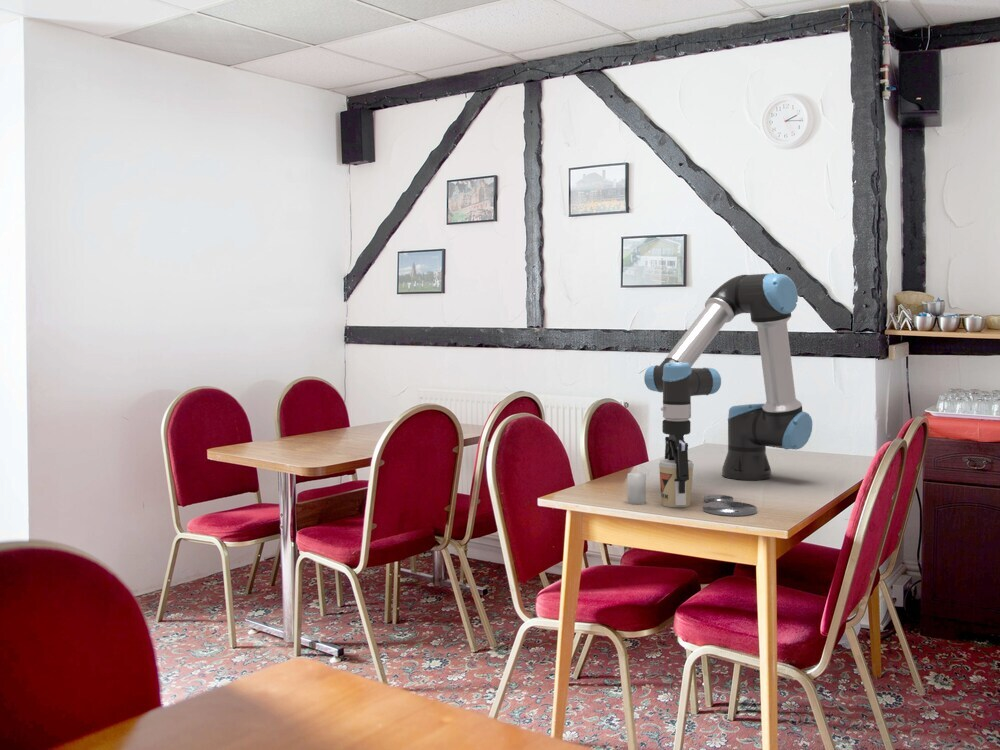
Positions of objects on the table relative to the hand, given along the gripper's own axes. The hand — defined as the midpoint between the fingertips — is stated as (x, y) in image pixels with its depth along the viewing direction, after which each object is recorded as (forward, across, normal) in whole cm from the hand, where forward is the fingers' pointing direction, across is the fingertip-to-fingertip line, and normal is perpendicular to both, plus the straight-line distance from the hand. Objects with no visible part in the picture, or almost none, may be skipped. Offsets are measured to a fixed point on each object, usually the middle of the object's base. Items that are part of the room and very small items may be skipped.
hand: (675, 501), depth 253 cm
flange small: (+1, -3, +13) cm, 13 cm away
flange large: (+1, +9, +12) cm, 15 cm away
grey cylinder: (+1, -4, -10) cm, 11 cm away
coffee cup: (+1, 0, 0) cm, 1 cm away
